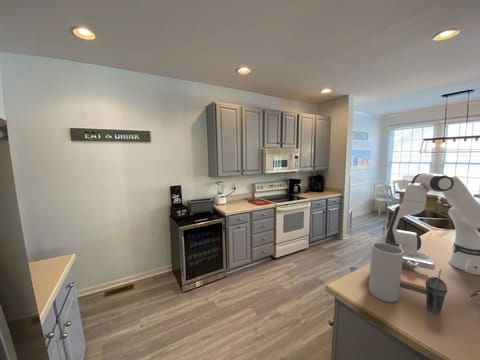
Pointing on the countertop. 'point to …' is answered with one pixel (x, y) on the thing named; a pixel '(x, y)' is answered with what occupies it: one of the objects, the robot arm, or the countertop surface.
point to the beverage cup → (435, 293)
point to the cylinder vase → (385, 271)
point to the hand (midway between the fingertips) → (413, 266)
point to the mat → (412, 288)
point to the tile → (413, 279)
